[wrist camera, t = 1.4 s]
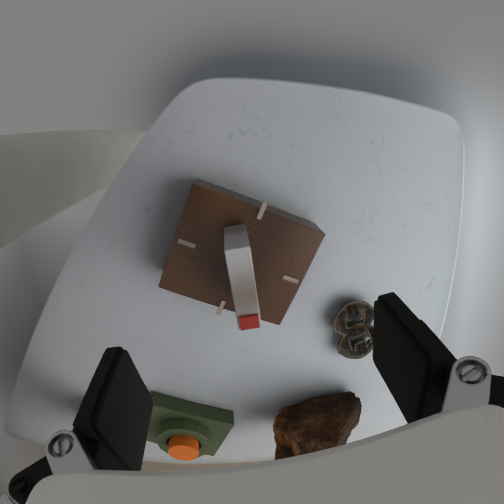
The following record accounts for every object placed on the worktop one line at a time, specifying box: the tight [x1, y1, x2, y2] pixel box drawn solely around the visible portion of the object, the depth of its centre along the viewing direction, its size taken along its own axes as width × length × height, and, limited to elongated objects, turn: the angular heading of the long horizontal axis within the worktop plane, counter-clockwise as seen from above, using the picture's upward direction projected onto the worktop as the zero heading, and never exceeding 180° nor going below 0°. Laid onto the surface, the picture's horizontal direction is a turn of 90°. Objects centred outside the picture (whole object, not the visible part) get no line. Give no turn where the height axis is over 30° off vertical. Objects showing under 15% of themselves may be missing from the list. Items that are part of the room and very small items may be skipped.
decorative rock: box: [273, 391, 362, 460], centre depth 31 cm, size 12×6×11 cm, turn 103°
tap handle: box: [224, 224, 262, 331], centre depth 23 cm, size 6×2×5 cm, turn 8°
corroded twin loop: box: [333, 301, 374, 359], centre depth 32 cm, size 5×8×1 cm, turn 21°
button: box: [168, 435, 199, 461], centre depth 31 cm, size 4×4×2 cm
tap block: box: [159, 178, 325, 325], centre depth 26 cm, size 11×10×3 cm
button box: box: [146, 391, 234, 457], centre depth 34 cm, size 10×8×4 cm
